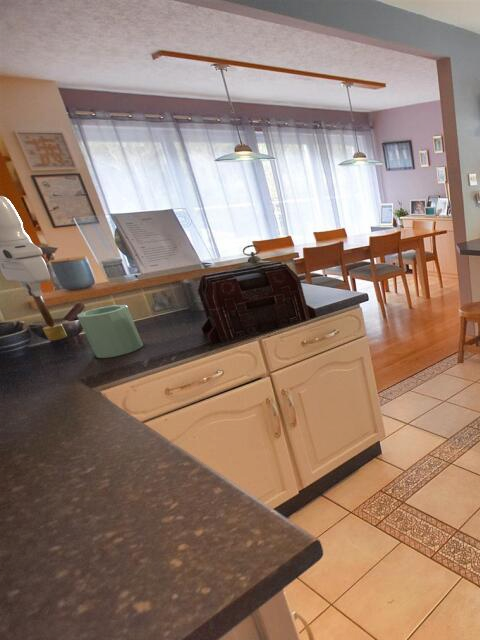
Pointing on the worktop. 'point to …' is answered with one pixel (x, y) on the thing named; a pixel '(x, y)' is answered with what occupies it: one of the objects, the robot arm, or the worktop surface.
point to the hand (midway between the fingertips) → (36, 295)
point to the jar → (110, 331)
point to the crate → (251, 301)
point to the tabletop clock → (253, 259)
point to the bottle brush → (48, 320)
